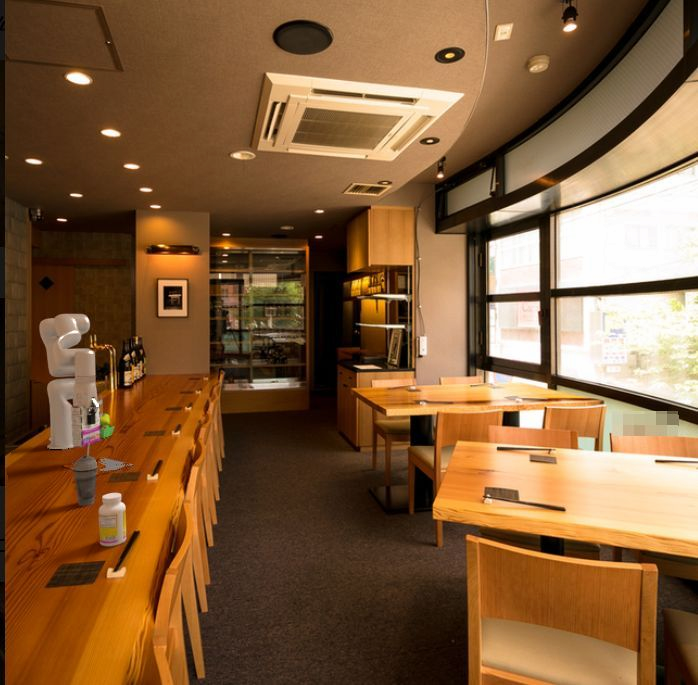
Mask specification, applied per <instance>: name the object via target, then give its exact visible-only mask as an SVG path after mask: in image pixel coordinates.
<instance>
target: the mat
mask: <svg viewBox="0 0 698 685" xmlns="http://www.w3.org/2000/svg"><path fill="white" fill-rule="evenodd" d="M103 458H104V459H100V460H101V462H103V463H101V462H99V463H101V464H103V465H105V466H106V468H103V469H100V471H103V470H104V471H108V470H109V471H110V470H117V469H119V468H122V467H124V466H125V464H124V465H123V463H125V462H124V461H118V460H115V459H109V458H105V457H103ZM103 460H105V461H103ZM71 463H72V464H73V463H74V462H71ZM105 463H106V464H105ZM116 464H117V465H116ZM121 464H122V465H121ZM127 465H128V464H127ZM127 465H126V466H127ZM129 465H130V466H131V467H133V466H132V465H134V464H132V463H129ZM129 465H128V466H129ZM73 469H74V468H71V469H70V470H73ZM117 471H118V470H117Z"/></svg>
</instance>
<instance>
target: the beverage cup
mask: <svg viewBox="0 0 698 685" xmlns="http://www.w3.org/2000/svg"><path fill="white" fill-rule="evenodd" d="M90 445H91V444H90V443H88V445H87V450H86V455H83V456H80V457H79V458H78V459H77V460H76V461H75V464H74V469H72V471H73V475H74V480H75V488H76V495H77V502H78V506H81V507H87V506H91V505H93V504H95V497H96V485H97V475H96V474H97V468H98V466H97V462H96V460H95V459H94V457H93V456H90V455H89V454H90Z"/></svg>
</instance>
